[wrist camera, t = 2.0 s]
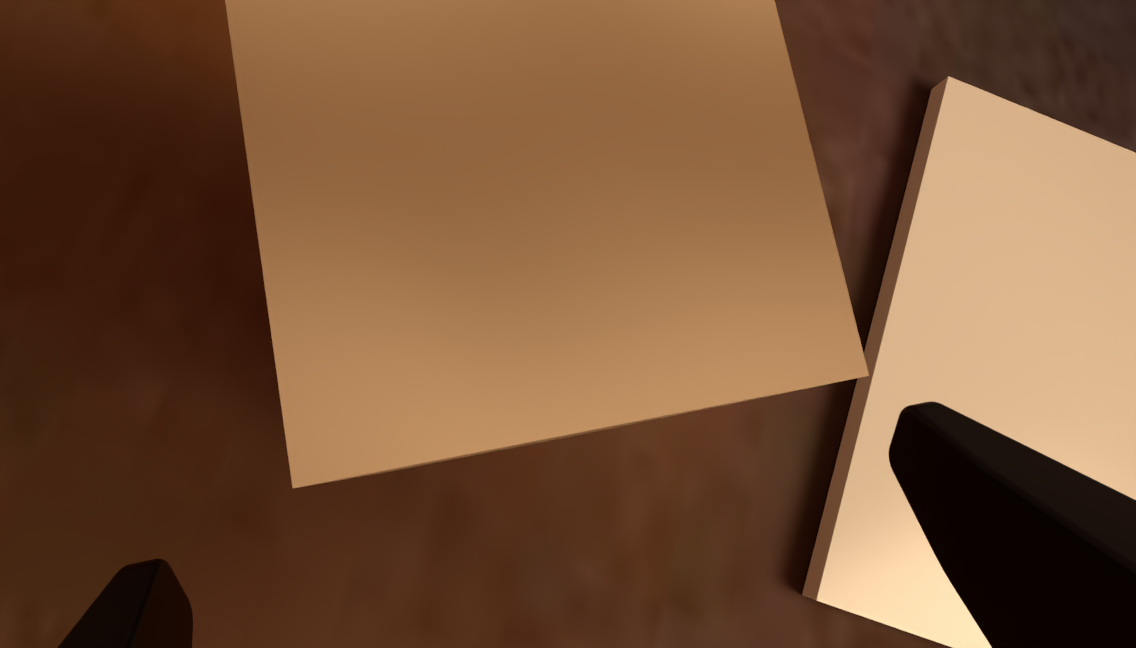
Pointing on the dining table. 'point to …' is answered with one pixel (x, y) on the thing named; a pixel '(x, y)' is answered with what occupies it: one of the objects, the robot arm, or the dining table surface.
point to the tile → (986, 338)
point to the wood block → (529, 221)
